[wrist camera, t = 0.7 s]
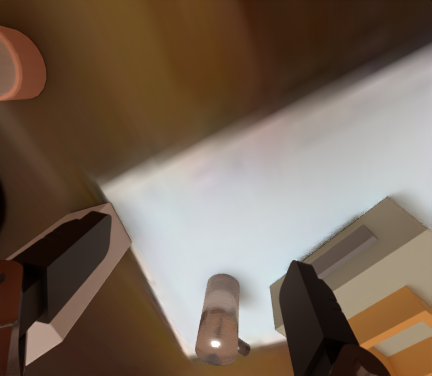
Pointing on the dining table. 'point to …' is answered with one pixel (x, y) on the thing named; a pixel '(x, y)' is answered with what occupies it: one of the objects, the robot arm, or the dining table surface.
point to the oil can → (220, 323)
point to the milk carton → (62, 323)
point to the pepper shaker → (20, 66)
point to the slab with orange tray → (380, 286)
